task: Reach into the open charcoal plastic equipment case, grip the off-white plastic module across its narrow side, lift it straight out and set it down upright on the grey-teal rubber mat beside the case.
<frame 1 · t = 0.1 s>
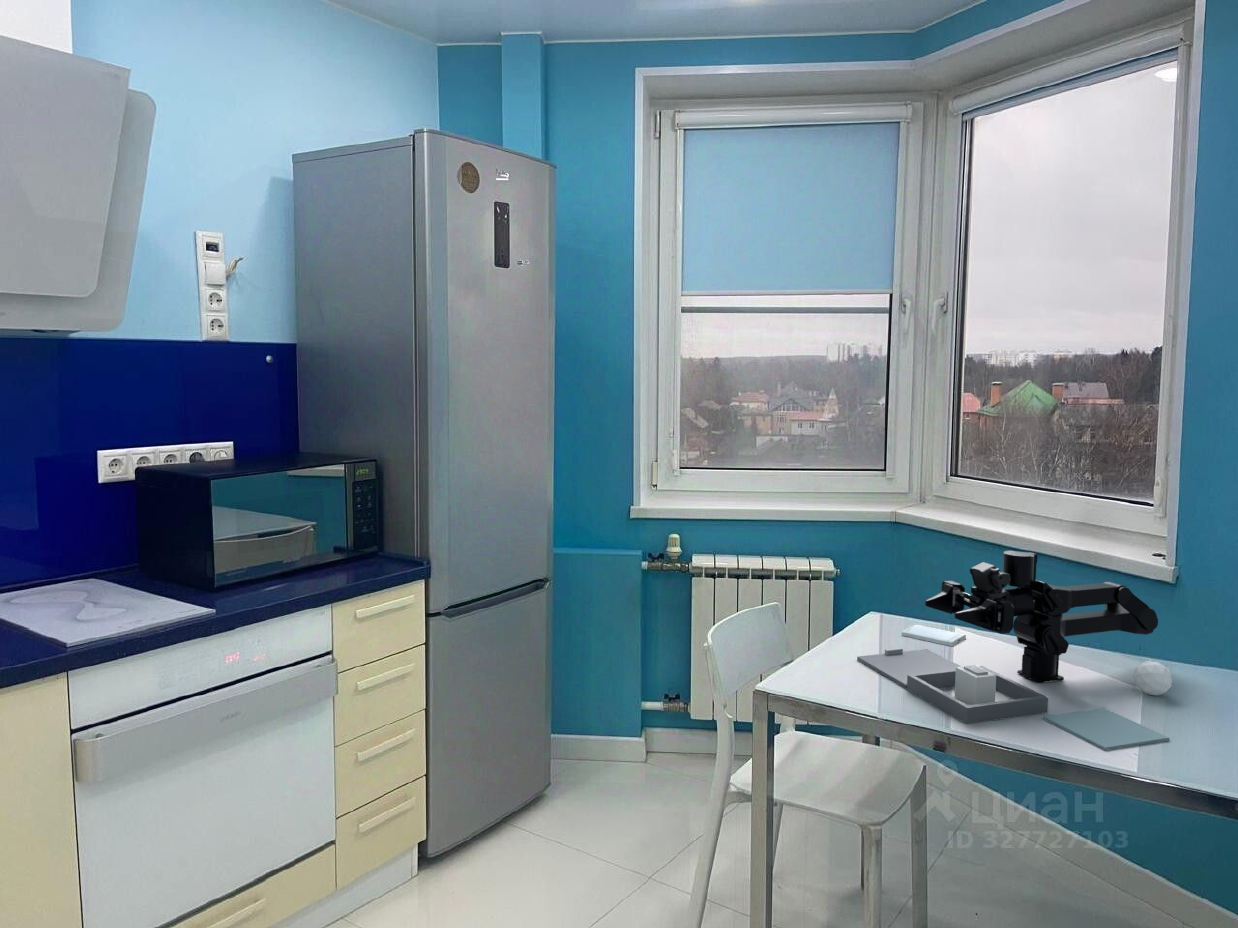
hand: (940, 609, 170), 17 cm above the table, tool horizontal, fingers open, 9 cm apart
case: (974, 700, 166), on the table
module: (975, 684, 166), in the case
ornament: (1150, 694, 169), on the table
hard drive: (933, 639, 207), on the table
mat: (1103, 728, 153), on the table
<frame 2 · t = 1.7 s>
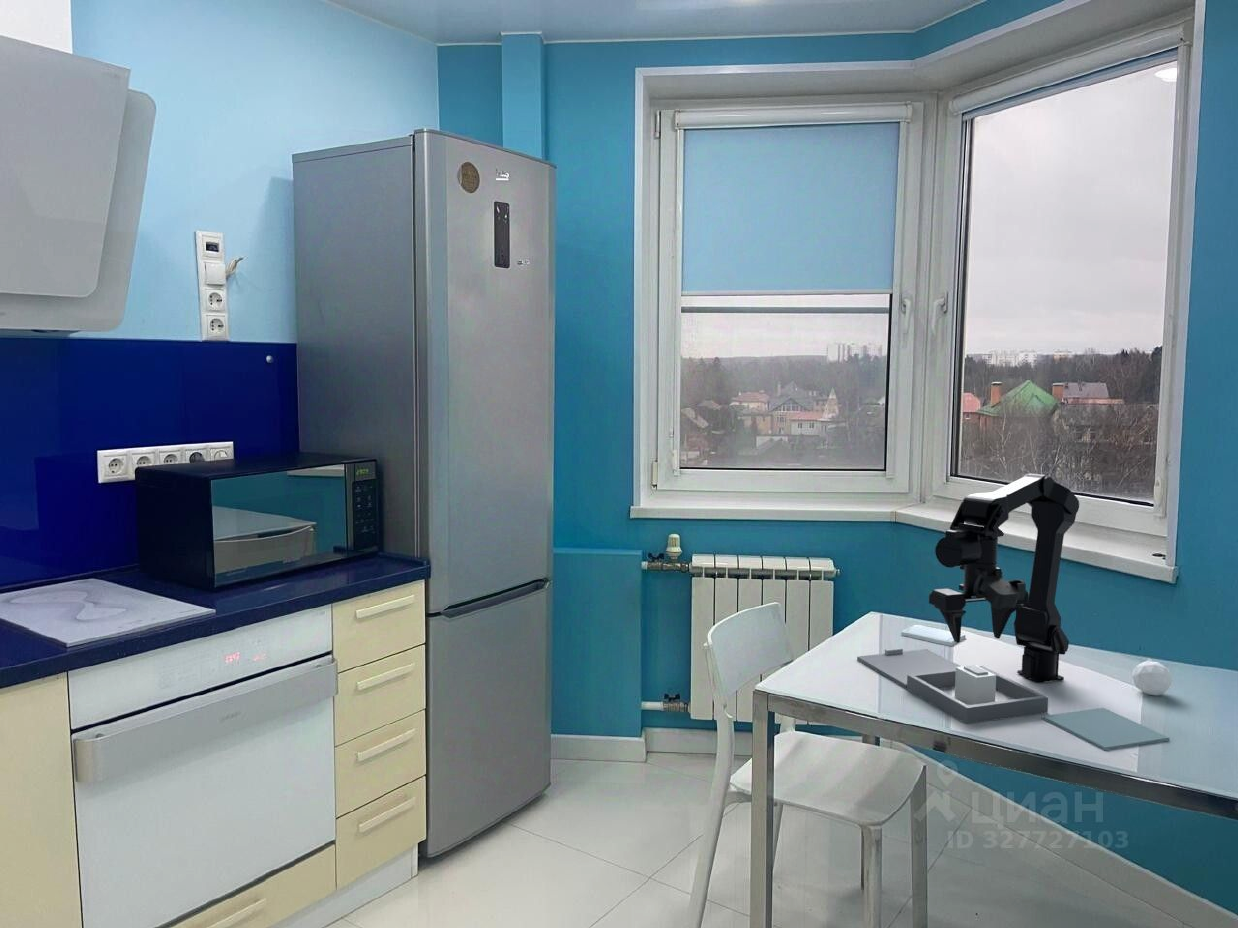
hand: (977, 639, 165), 12 cm above the table, tool pointing down, fingers open, 9 cm apart
nothing on the table moved.
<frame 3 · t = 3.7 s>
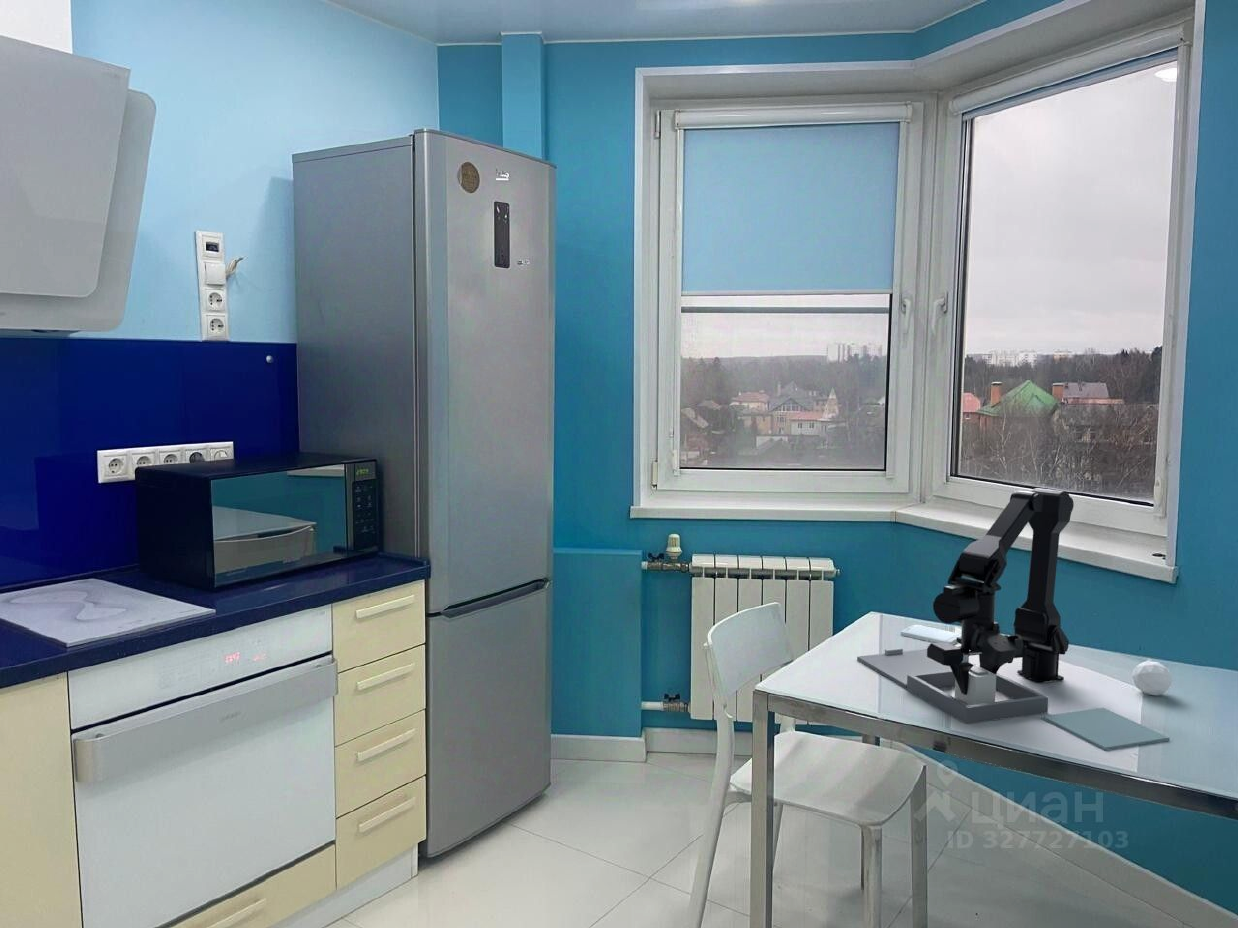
hand: (974, 692, 166), 2 cm above the table, tool pointing down, fingers closed on module, 4 cm apart
module: (975, 684, 166), in the case, touching gripper
everything else where it was.
when the fingers open (3 cm above the table, at t = 9.6 s): module drops 1 cm, resting on mat.
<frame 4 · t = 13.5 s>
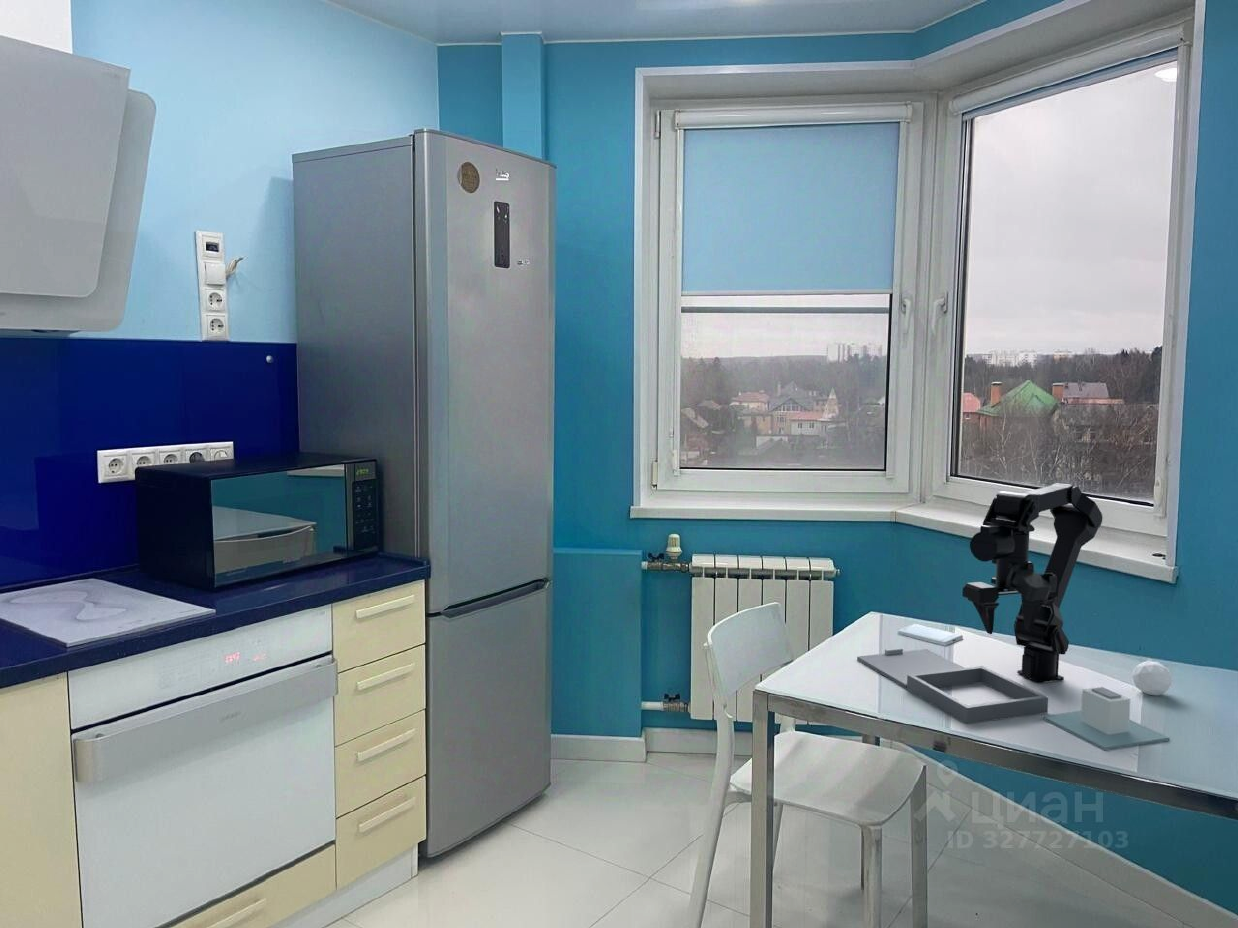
hand: (1008, 631, 170), 12 cm above the table, tool pointing down, fingers open, 9 cm apart
module: (1105, 709, 152), on the mat
everything else where it was.
at the end: module inside the target area on the mat (0.0 cm from its centre), point 3.7 cm above the mat's base; the gripper is holding nothing; module tilted 0° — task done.
